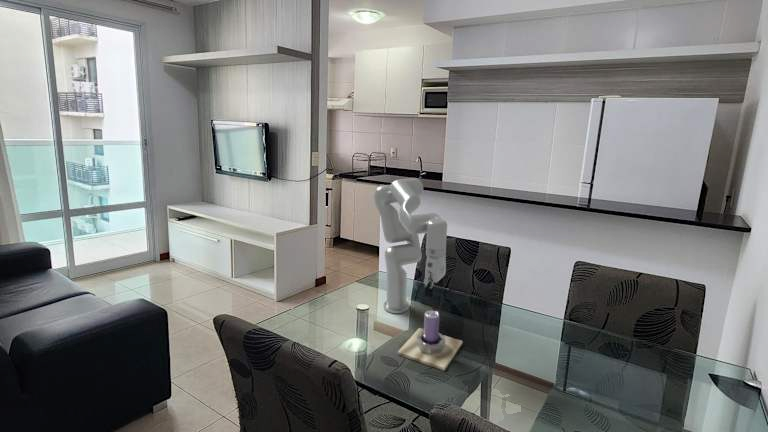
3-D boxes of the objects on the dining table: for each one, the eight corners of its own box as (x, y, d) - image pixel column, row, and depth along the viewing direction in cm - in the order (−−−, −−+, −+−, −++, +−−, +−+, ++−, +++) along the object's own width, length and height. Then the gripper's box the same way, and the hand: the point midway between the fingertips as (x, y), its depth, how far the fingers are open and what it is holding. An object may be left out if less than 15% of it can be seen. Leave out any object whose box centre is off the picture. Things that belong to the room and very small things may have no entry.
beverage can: (438, 350, 166) (440, 317, 162) (423, 350, 166) (425, 317, 162) (437, 342, 172) (438, 310, 167) (422, 341, 172) (423, 309, 168)
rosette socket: (397, 354, 166) (397, 343, 165) (419, 330, 183) (419, 320, 181) (444, 370, 156) (444, 359, 155) (462, 343, 173) (463, 333, 172)
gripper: (435, 261, 149) (433, 303, 155) (453, 245, 164) (451, 284, 169) (416, 256, 153) (415, 297, 158) (436, 241, 167) (434, 280, 173)
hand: (434, 291), depth 164 cm, fingers open, 9 cm apart
